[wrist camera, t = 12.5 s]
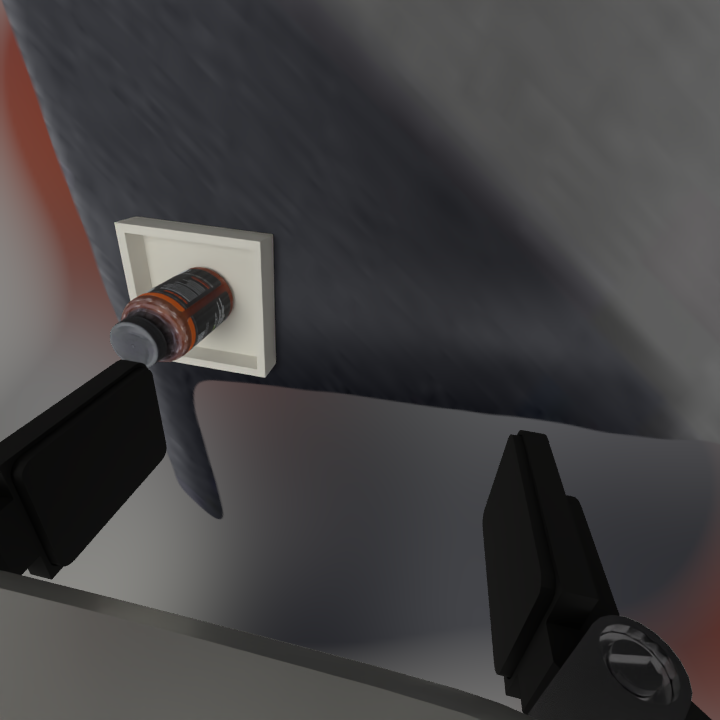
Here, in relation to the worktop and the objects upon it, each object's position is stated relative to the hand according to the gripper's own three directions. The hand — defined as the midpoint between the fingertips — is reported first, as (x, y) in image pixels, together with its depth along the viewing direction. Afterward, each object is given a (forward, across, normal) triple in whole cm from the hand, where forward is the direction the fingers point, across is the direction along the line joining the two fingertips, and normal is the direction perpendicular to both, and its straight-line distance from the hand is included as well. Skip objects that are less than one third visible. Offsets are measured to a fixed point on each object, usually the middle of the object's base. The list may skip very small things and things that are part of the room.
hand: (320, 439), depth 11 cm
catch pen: (+28, +19, +9) cm, 35 cm away
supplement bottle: (+28, +19, +9) cm, 35 cm away
